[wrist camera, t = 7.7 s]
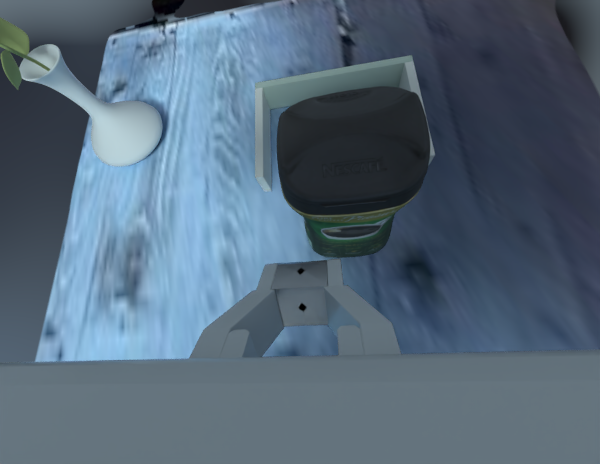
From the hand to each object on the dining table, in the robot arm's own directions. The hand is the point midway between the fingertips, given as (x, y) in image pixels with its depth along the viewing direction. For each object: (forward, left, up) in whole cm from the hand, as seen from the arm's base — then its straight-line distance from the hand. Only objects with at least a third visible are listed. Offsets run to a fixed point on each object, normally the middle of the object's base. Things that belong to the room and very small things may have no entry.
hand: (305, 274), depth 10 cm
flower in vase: (+37, -7, -20) cm, 43 cm away
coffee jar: (+2, -8, -20) cm, 22 cm away
